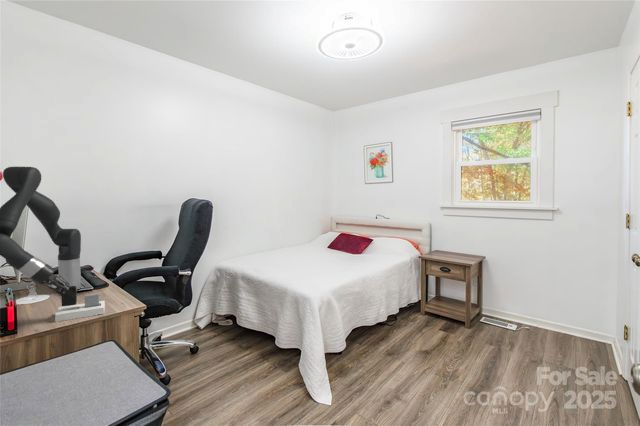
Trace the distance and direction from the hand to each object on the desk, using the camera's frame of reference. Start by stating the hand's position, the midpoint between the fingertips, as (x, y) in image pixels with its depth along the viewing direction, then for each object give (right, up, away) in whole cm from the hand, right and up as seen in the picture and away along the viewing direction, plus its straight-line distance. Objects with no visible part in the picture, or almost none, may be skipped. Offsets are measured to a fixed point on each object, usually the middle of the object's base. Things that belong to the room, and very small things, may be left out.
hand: (75, 294), depth 138 cm
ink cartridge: (-2, -4, -1) cm, 5 cm away
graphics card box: (-38, -5, +44) cm, 59 cm away
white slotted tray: (+1, -9, +2) cm, 9 cm away
